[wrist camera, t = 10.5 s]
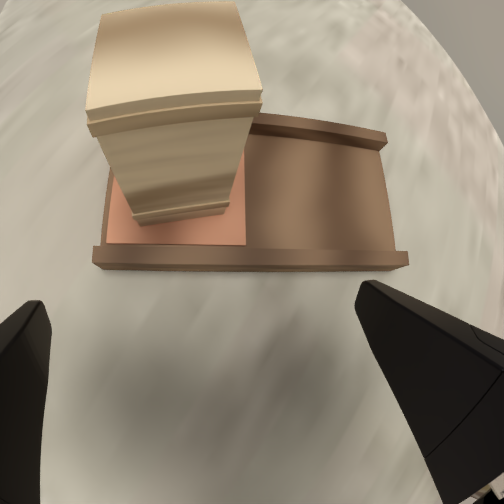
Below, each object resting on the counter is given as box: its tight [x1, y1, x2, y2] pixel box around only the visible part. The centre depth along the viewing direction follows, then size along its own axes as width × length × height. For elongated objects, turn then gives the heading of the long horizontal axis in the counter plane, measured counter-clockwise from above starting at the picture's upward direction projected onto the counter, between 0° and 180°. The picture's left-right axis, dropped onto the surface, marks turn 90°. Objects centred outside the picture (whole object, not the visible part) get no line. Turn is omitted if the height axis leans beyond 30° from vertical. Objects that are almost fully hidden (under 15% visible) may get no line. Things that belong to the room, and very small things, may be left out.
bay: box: [92, 113, 409, 272], centre depth 21 cm, size 21×11×2 cm, turn 91°
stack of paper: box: [85, 1, 263, 227], centre depth 15 cm, size 6×6×12 cm
